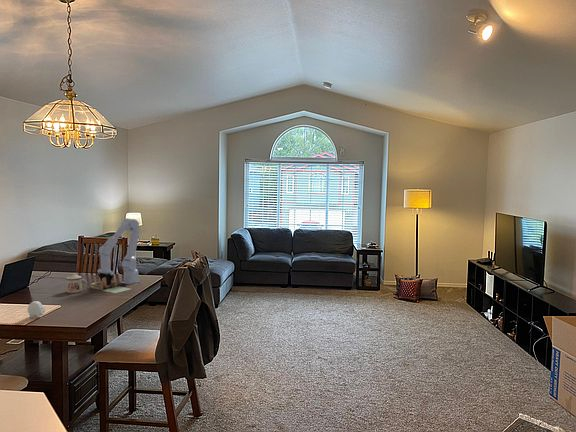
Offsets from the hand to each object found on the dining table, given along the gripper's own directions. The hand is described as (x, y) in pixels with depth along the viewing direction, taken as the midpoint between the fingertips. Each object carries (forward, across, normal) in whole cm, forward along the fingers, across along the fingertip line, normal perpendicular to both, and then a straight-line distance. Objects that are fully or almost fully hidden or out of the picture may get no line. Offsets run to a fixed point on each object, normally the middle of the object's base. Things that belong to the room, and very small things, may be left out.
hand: (106, 284), depth 302 cm
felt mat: (+2, +12, -1) cm, 13 cm away
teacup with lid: (+2, -6, -17) cm, 18 cm away
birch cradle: (+2, -2, -1) cm, 3 cm away
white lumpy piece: (+2, +25, -59) cm, 64 cm away
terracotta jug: (+2, 0, 0) cm, 2 cm away
